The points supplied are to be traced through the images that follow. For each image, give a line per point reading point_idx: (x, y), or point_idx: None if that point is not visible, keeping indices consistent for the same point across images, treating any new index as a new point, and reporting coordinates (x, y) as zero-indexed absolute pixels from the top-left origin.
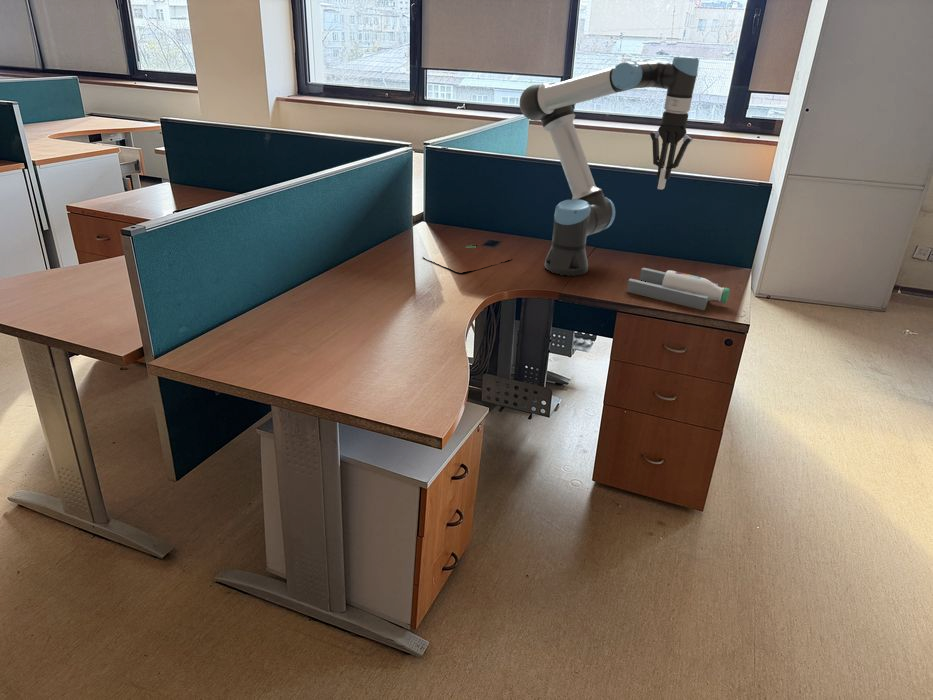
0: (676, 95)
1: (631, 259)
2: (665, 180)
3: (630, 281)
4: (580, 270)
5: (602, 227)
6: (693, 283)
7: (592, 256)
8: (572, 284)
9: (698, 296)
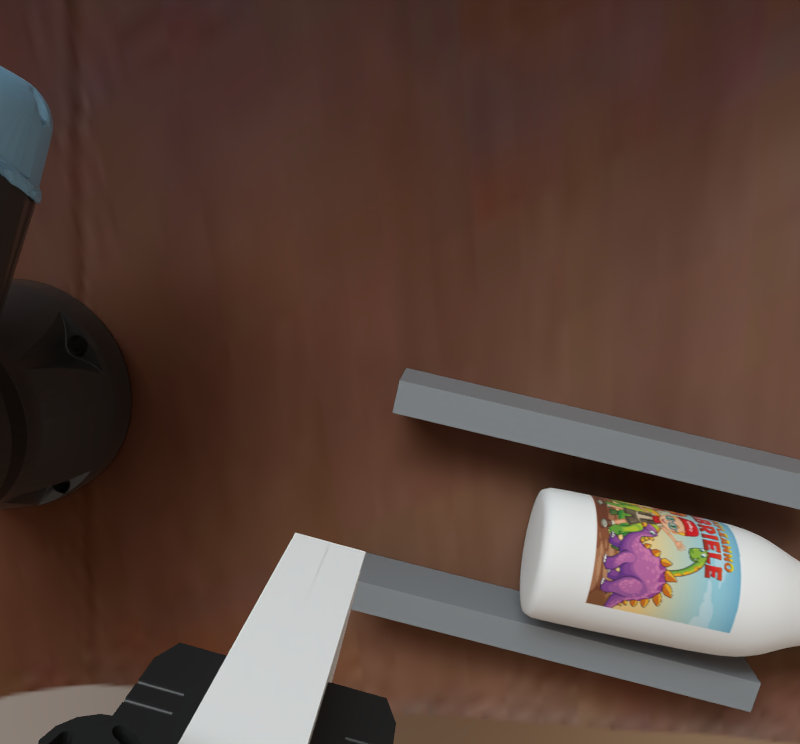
0: None
1: (313, 57)
2: (336, 653)
3: (361, 610)
4: (99, 467)
5: (16, 260)
6: (689, 649)
7: (95, 116)
8: (114, 581)
9: (708, 699)
